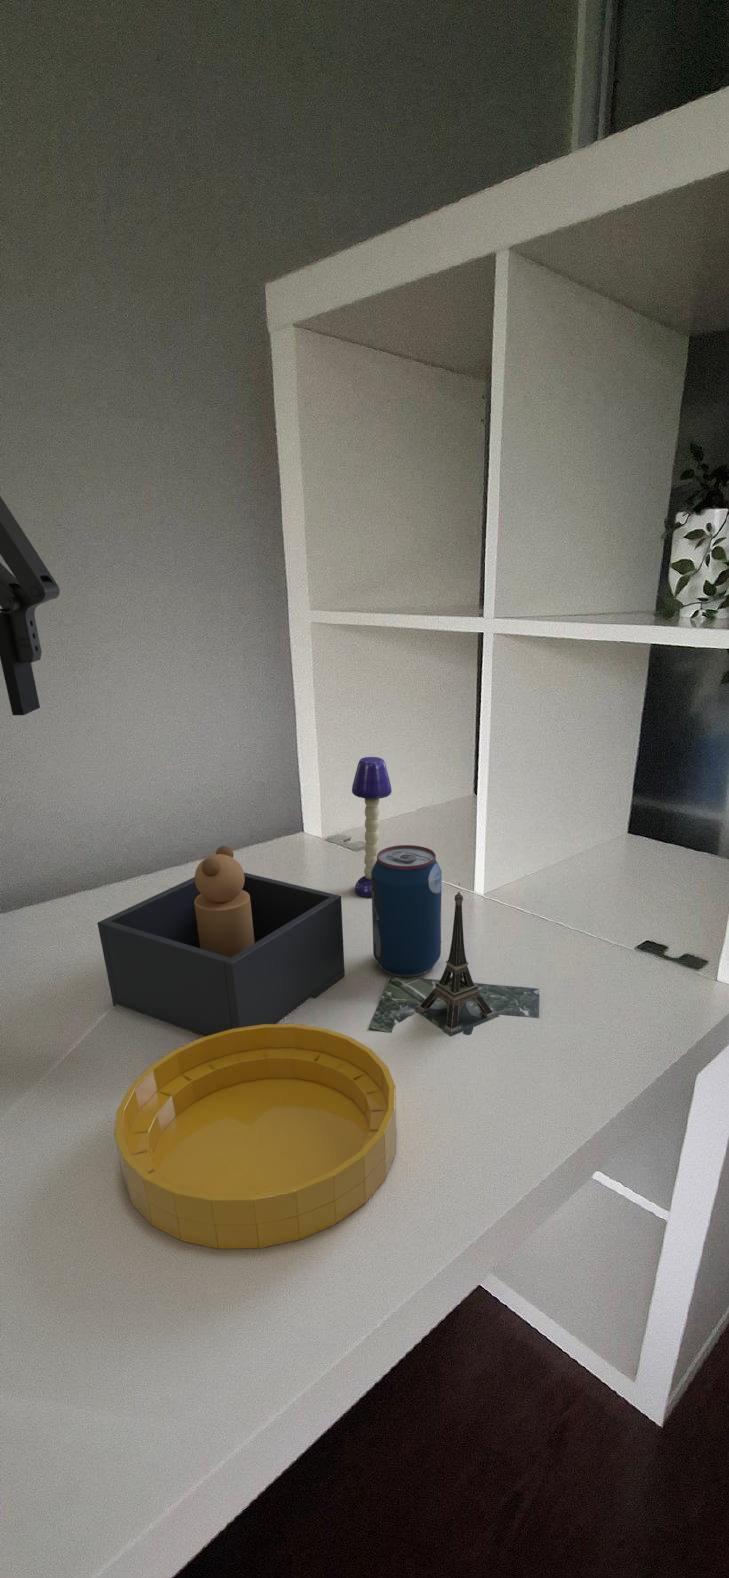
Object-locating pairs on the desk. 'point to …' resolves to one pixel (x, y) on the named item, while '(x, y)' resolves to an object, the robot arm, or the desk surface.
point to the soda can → (406, 910)
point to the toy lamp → (370, 811)
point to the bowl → (257, 1135)
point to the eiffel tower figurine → (452, 995)
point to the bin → (224, 957)
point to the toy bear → (223, 905)
